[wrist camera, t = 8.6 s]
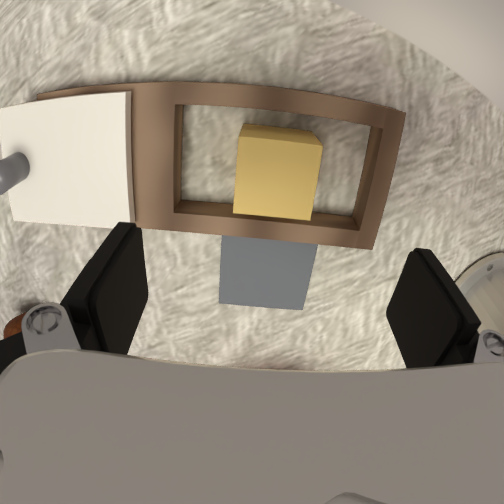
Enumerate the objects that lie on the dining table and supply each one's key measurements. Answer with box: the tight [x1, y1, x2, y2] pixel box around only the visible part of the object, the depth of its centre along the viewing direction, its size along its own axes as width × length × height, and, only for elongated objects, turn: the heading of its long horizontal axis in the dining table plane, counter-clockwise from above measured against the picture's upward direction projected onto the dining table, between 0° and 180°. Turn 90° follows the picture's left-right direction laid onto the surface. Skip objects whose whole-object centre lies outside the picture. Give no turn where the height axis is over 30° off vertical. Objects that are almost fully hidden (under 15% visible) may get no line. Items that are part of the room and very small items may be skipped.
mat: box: [219, 235, 318, 310], centre depth 29 cm, size 8×8×1 cm
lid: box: [0, 91, 135, 228], centre depth 19 cm, size 12×10×4 cm
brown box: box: [37, 81, 406, 250], centre depth 22 cm, size 27×11×2 cm, turn 85°
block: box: [233, 124, 323, 221], centre depth 22 cm, size 5×5×5 cm
